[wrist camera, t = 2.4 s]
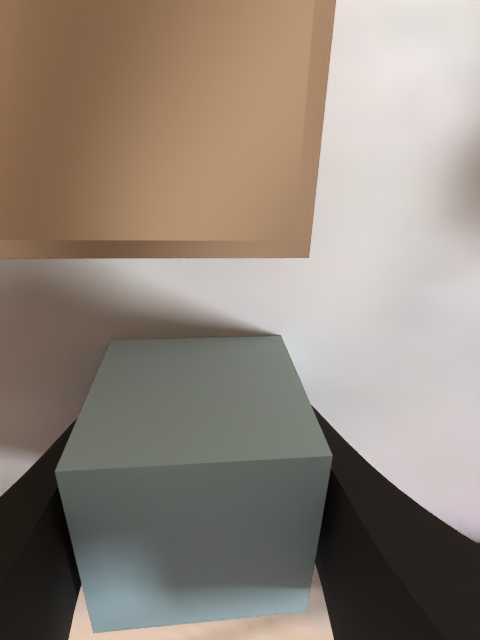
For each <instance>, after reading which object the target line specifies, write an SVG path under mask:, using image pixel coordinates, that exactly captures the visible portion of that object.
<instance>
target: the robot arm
mask: <svg viewBox="0 0 480 640" xmlns="http://www.w3.org/2000/svg"><path fill="white" fill-rule="evenodd" d="M311 406H312V405H311ZM312 409H313V411H314V413H315V416H316V418H317V420H318V423H319V425H320V427H321V430H322V432H323V434H324V437H325V439H326V441H327V444H328V446H329V448H330V450H331V453H332V455H333V457H332V463H331V469H330V475H329V481H328V487H327V493H326V499H325V505H324V511H323V517H322V522H321V528H320V534H319V540H318V546H317V552H316V558H315V564H316V567H317V571H318V574H319V578H320V581H321V585H322V588H323V593H324V597H325V601H326V606H327V610H328V614H329V619H330V623H331V628H332V632H333V637H334V640H480V545H479V544H477V543H476V542H474V541H472V540H471V539H469V538H467V537H466V536H464V535H463V534H461V533H460V532H458V531H457V530H455V529H454V528H452V527H451V526H449V525H448V524H446V523H445V522H443V521H442V520H440V519H439V518H437V517H436V516H434V515H433V514H432V513H430V512H429V511H427V510H426V509H424V508H423V507H422V506H420V505H419V504H418V503H416V502H415V501H414V500H413V499H411V498H410V497H409V496H407V495H406V494H405V493H403V492H402V491H401V490H399V489H398V488H397V487H396V486H395V485H393V484H392V483H391V482H390V481H388V480H387V479H386V478H385V477H384V476H383V475H382V474H380V473H379V472H378V471H377V470H376V469H375V468H374V467H372V466H371V465H370V464H369V463H368V462H367V461H366V460H365V459H364V458H363V457H362V456H361V455H360V454H359V453H358V452H357V451H356V450H355V449H353V448H352V447H351V446H350V445H349V444H348V443H347V442H346V441H345V440H344V439H343V438H342V437H341V436H340V434H339V433H338V432H337V431H336V430H335V429H334V428H333V427H332V426H331V425H330V424H329V423H328V422H327V421H326V420H325V419H324V418H323V417H322V415H321V414H320V413H319V412H318V411H317V410H316V409H315V408H314V407H313V406H312ZM76 421H77V419H76V420H75V421H74V422H73V423H72V424H71V425H70V426H69V427H68V428H67V429H66V431H65V432H64V433H63V434H62V435H61V436H60V437H59V438H58V439H57V440H56V441H55V443H54V444H53V445H52V446H51V447H50V448H49V449H48V450H47V451H46V452H45V453H44V454H43V455H42V456H41V457H40V458H39V459H38V460H37V462H36V463H35V464H34V465H33V466H32V467H31V468H30V469H29V470H28V471H27V472H26V473H25V474H24V475H23V476H22V477H21V478H20V479H19V480H18V481H17V482H16V483H15V484H13V485H12V486H11V487H10V488H9V489H8V490H7V491H6V492H5V493H4V494H3V495H2V496H1V497H0V640H68V639H69V634H70V629H71V624H72V619H73V614H74V610H75V606H76V602H77V598H78V595H79V591H80V587H81V579H80V575H79V571H78V567H77V563H76V559H75V554H74V550H73V546H72V542H71V538H70V533H69V529H68V525H67V521H66V517H65V513H64V508H63V504H62V500H61V496H60V492H59V488H58V483H57V479H56V475H55V470H56V468H57V465H58V463H59V461H60V458H61V456H62V454H63V451H64V449H65V447H66V444H67V442H68V439H69V437H70V435H71V432H72V430H73V428H74V425H75V423H76Z"/></svg>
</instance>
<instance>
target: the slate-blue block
mask: <svg viewBox="0 0 480 640" xmlns="http://www.w3.org/2000/svg"><path fill="white" fill-rule="evenodd" d="M332 457H333V455H332V453H331V450H330V448H329V446H328V444H327V441H326V439H325V437H324V434H323V432H322V430H321V427H320V425H319V423H318V420H317V418H316V416H315V413H314V411H313V409H312V406H311V404H310V402H309V399H308V397H307V395H306V392H305V390H304V388H303V385H302V383H301V381H300V379H299V376H298V374H297V372H296V369H295V367H294V365H293V362H292V360H291V358H290V355H289V353H288V351H287V348H286V346H285V344H284V341H283V339H282V337H281V336H242V337H200V338H158V339H116V340H111V341H110V344H109V346H108V348H107V351H106V353H105V355H104V358H103V360H102V362H101V365H100V367H99V369H98V372H97V374H96V376H95V379H94V381H93V383H92V386H91V388H90V390H89V393H88V395H87V397H86V400H85V402H84V404H83V407H82V409H81V411H80V414H79V416H78V418H77V421H76V423H75V425H74V428H73V430H72V432H71V435H70V437H69V439H68V442H67V444H66V447H65V449H64V451H63V454H62V456H61V458H60V461H59V463H58V465H57V468H56V470H55V475H56V479H57V483H58V488H59V492H60V496H61V500H62V504H63V508H64V513H65V517H66V521H67V525H68V529H69V533H70V538H71V542H72V546H73V550H74V554H75V559H76V563H77V567H78V571H79V575H80V579H81V584H82V588H83V592H84V596H85V600H86V604H87V609H88V613H89V617H90V621H91V625H92V629H93V633H99V632H109V631H119V630H129V629H139V628H149V627H159V626H169V625H179V624H189V623H199V622H209V621H219V620H229V619H239V618H249V617H259V616H269V615H279V614H289V613H299V612H306V611H307V605H308V599H309V593H310V587H311V581H312V576H313V570H314V564H315V558H316V552H317V546H318V540H319V534H320V528H321V522H322V517H323V511H324V505H325V499H326V493H327V487H328V481H329V475H330V469H331V463H332Z"/></svg>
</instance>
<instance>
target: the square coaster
mask: <svg viewBox="0 0 480 640" xmlns="http://www.w3.org/2000/svg"><path fill="white" fill-rule="evenodd" d="M335 5H336V0H0V259H37V258H309V253H310V243H311V234H312V224H313V215H314V205H315V195H316V186H317V176H318V167H319V157H320V148H321V138H322V129H323V119H324V110H325V100H326V91H327V81H328V72H329V62H330V52H331V43H332V33H333V24H334V14H335Z"/></svg>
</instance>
